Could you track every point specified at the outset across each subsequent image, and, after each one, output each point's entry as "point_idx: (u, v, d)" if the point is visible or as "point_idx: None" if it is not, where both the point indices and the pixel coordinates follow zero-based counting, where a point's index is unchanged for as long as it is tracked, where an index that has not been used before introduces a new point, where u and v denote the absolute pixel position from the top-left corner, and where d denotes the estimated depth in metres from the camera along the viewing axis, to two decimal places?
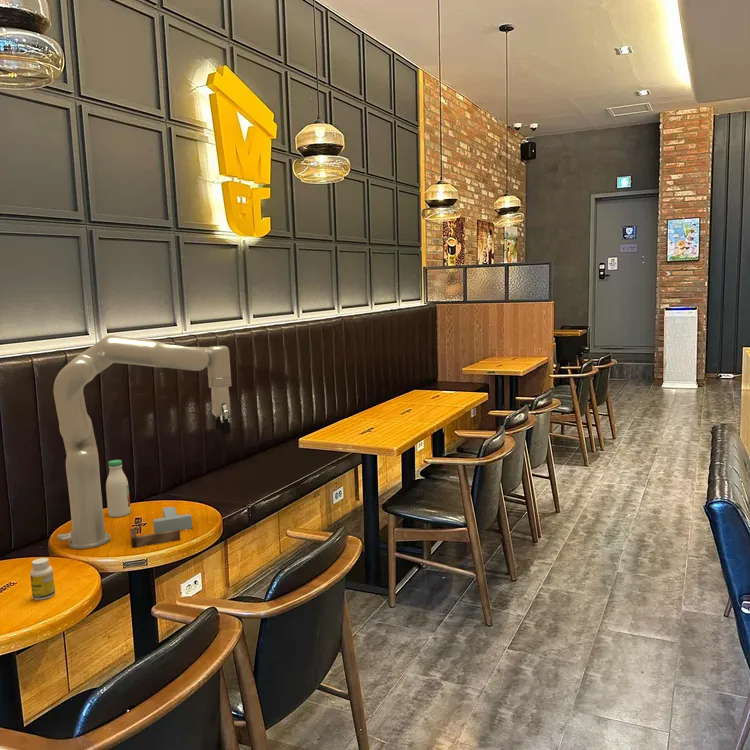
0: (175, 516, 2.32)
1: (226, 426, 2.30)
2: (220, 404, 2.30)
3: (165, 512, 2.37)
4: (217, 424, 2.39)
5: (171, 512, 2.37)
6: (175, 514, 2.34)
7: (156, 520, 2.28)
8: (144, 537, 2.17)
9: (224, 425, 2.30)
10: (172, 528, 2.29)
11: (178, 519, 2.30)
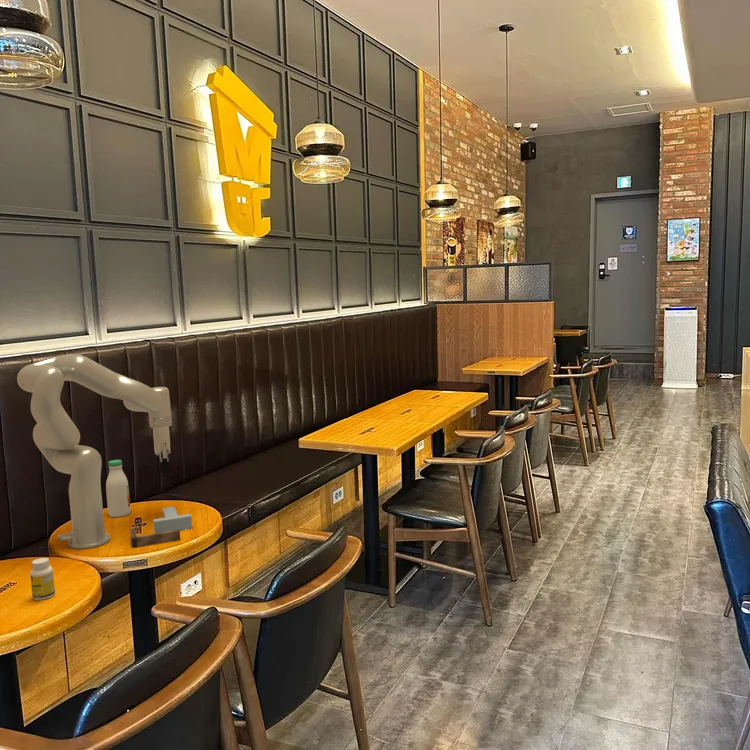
0: (176, 516, 2.32)
1: (165, 465, 2.45)
2: (160, 443, 2.40)
3: (165, 512, 2.37)
4: None
5: (171, 512, 2.37)
6: (175, 514, 2.34)
7: (156, 520, 2.28)
8: (144, 537, 2.17)
9: (163, 464, 2.45)
10: (172, 528, 2.29)
11: (178, 519, 2.30)
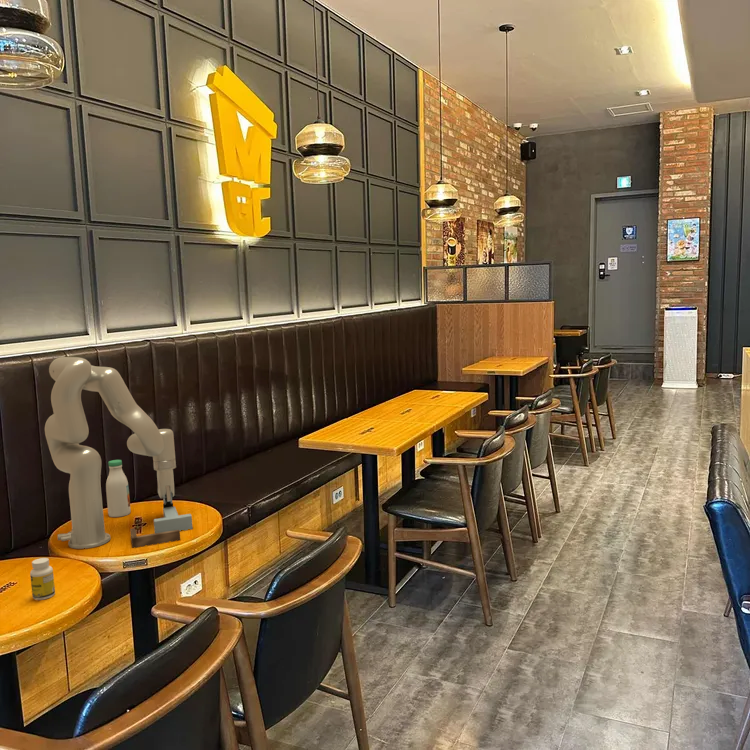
0: (176, 516, 2.31)
1: None
2: (164, 486, 2.39)
3: (165, 512, 2.36)
4: None
5: (171, 512, 2.36)
6: (175, 514, 2.34)
7: (156, 520, 2.28)
8: (144, 537, 2.17)
9: None
10: (172, 528, 2.29)
11: (178, 519, 2.29)
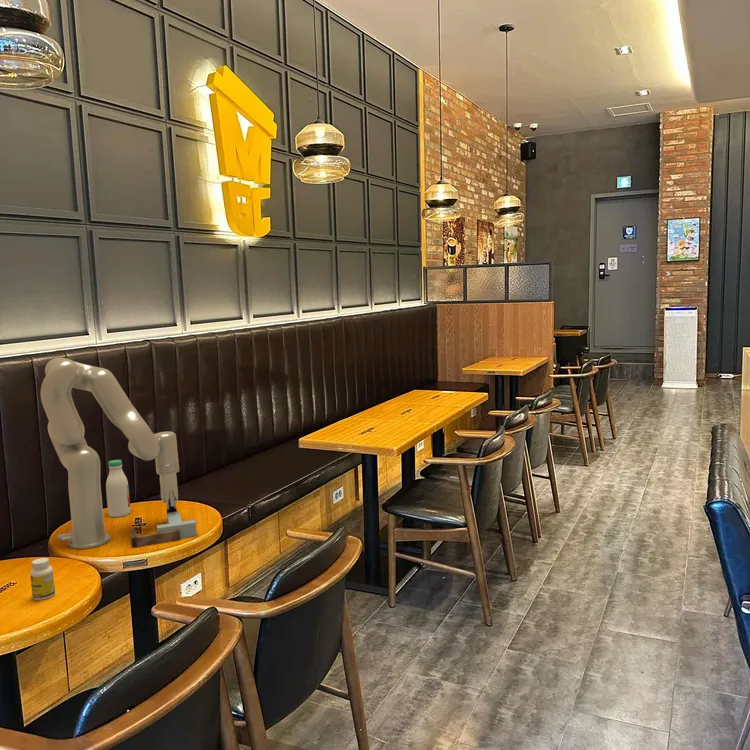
0: (180, 522, 2.24)
1: None
2: (167, 491, 2.32)
3: (169, 518, 2.29)
4: None
5: (175, 517, 2.29)
6: (179, 520, 2.26)
7: (159, 526, 2.21)
8: (144, 537, 2.17)
9: None
10: None
11: (182, 525, 2.22)
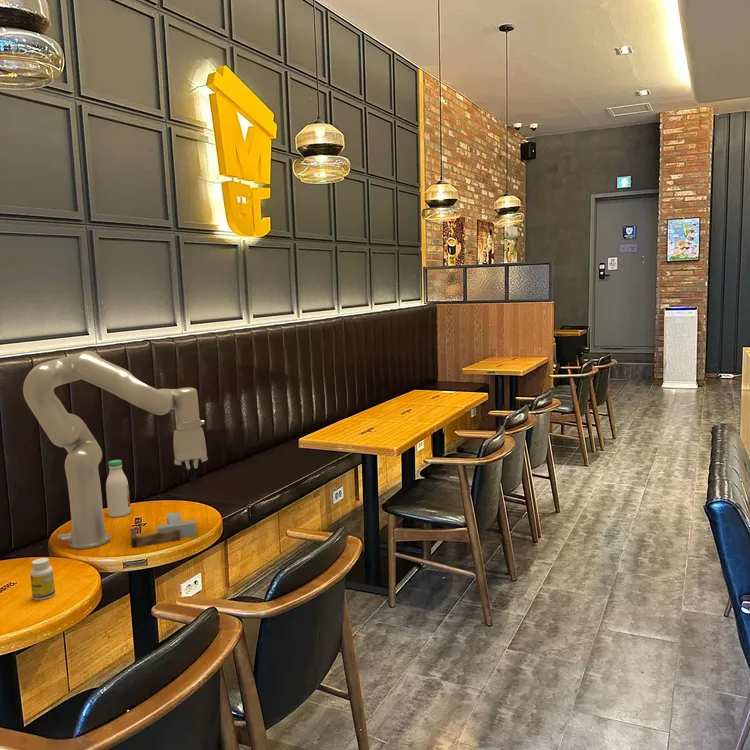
0: (180, 522, 2.24)
1: (187, 472, 2.27)
2: None
3: (169, 518, 2.29)
4: None
5: (175, 518, 2.29)
6: (179, 520, 2.27)
7: (159, 527, 2.21)
8: (144, 537, 2.17)
9: (187, 471, 2.28)
10: None
11: (182, 526, 2.22)
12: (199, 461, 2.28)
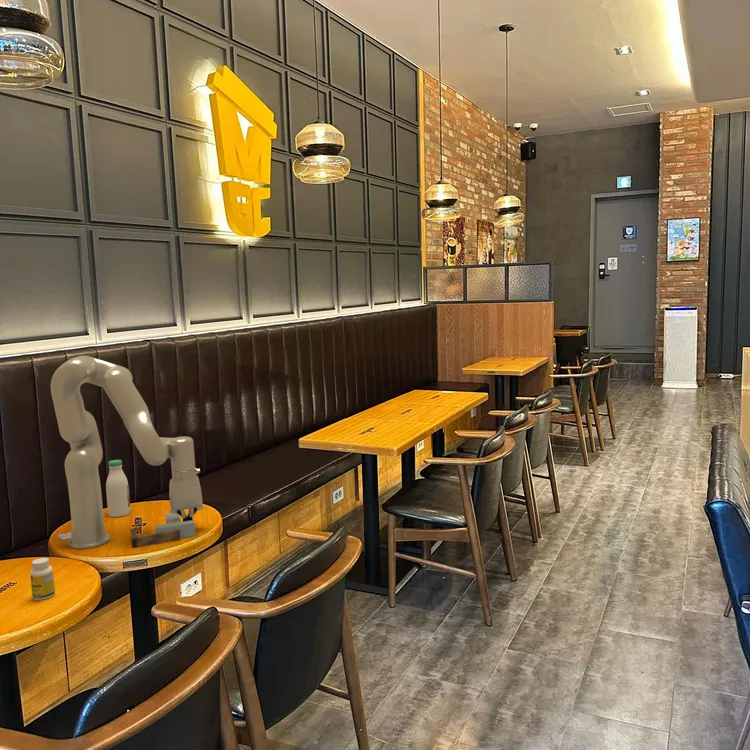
0: (178, 522, 2.24)
1: (183, 521, 2.28)
2: None
3: (168, 518, 2.29)
4: None
5: (174, 518, 2.29)
6: (178, 520, 2.26)
7: (158, 527, 2.21)
8: (144, 537, 2.17)
9: None
10: None
11: (181, 526, 2.22)
12: (195, 510, 2.28)
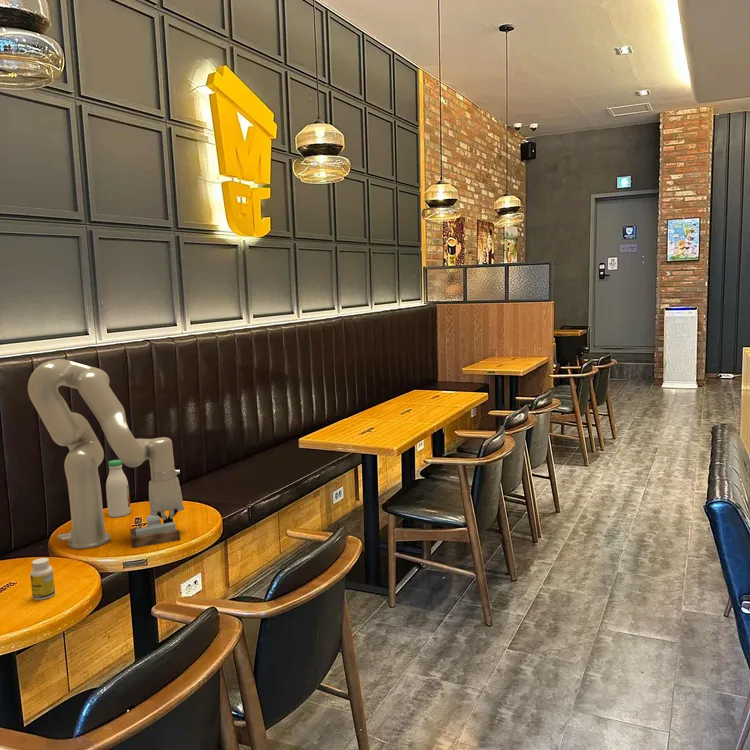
0: (159, 524, 2.22)
1: (163, 522, 2.25)
2: (149, 497, 2.24)
3: (148, 521, 2.27)
4: None
5: (154, 520, 2.27)
6: (159, 522, 2.24)
7: (138, 530, 2.18)
8: (144, 537, 2.17)
9: (163, 521, 2.26)
10: None
11: (161, 528, 2.20)
12: (175, 511, 2.26)
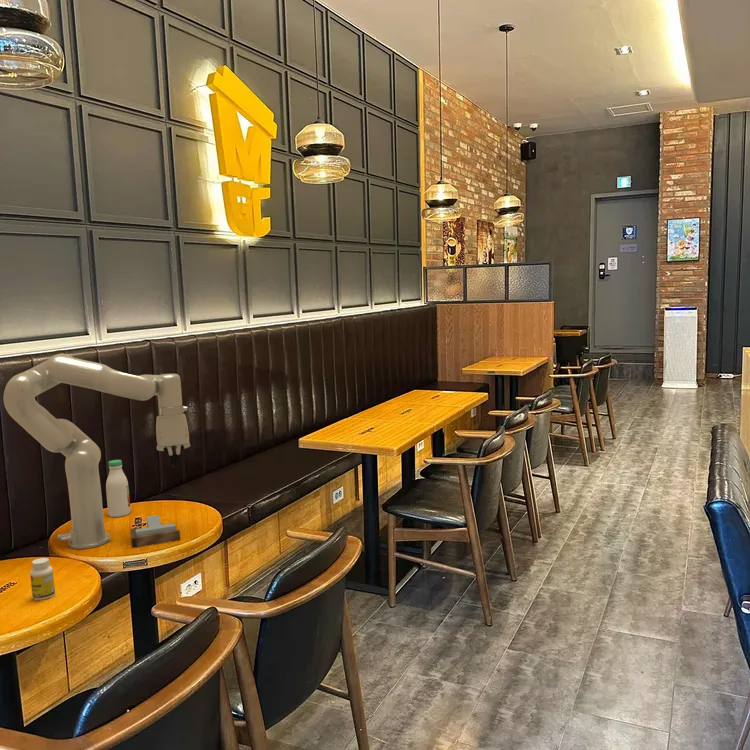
0: (159, 526, 2.22)
1: (170, 458, 2.27)
2: (156, 433, 2.26)
3: (149, 521, 2.27)
4: None
5: (155, 521, 2.27)
6: (159, 524, 2.24)
7: (139, 530, 2.18)
8: (144, 537, 2.17)
9: None
10: None
11: (162, 529, 2.20)
12: (182, 447, 2.27)
